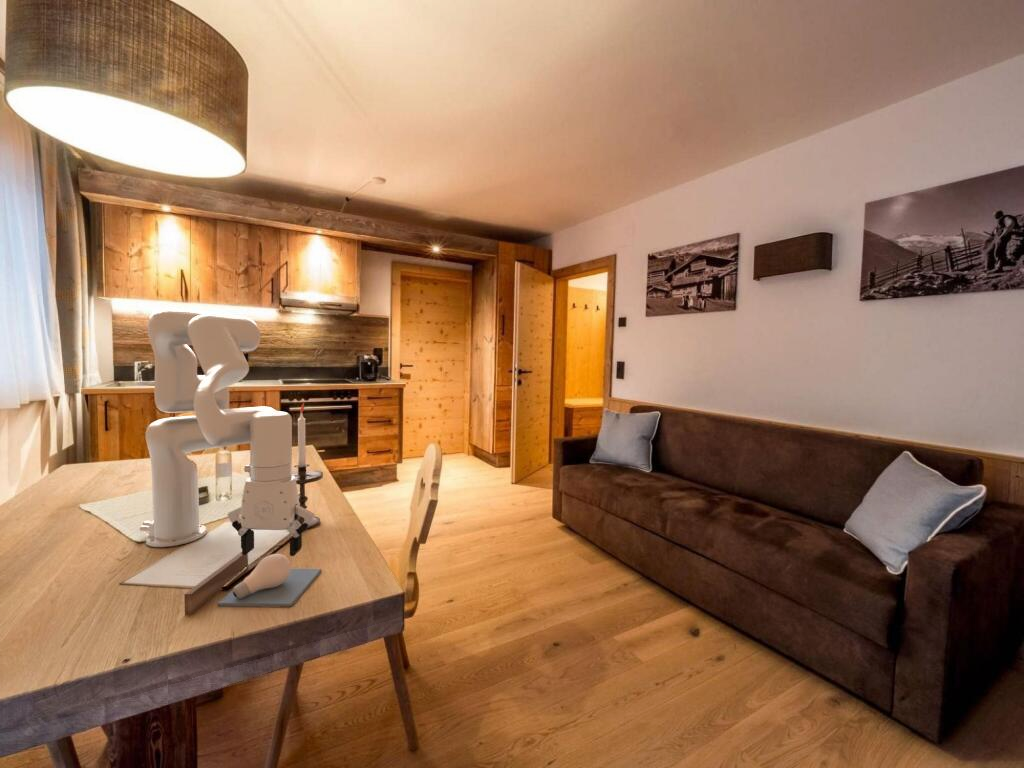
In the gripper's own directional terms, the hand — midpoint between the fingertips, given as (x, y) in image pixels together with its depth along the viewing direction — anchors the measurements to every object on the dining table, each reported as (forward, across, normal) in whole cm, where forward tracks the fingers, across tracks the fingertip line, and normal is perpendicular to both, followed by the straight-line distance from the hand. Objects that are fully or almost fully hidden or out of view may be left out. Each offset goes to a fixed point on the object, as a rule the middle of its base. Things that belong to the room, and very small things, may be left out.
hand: (271, 552), depth 92 cm
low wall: (+7, -10, -1) cm, 12 cm away
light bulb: (+7, -1, -2) cm, 7 cm away
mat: (+7, +1, 0) cm, 7 cm away
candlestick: (+8, -9, +34) cm, 36 cm away
